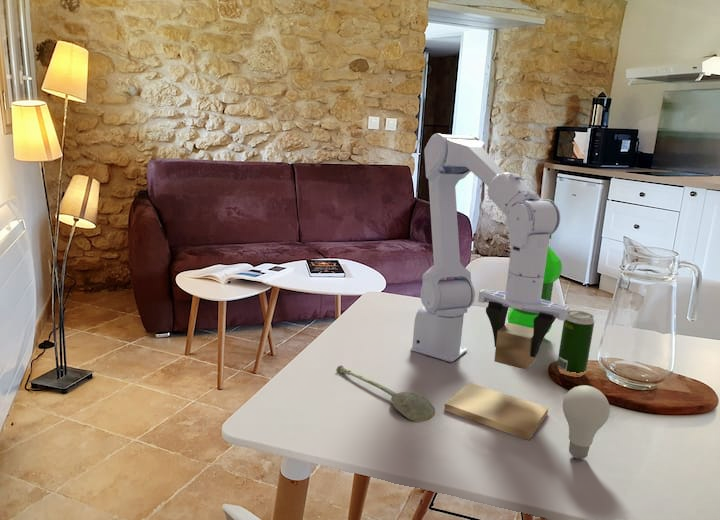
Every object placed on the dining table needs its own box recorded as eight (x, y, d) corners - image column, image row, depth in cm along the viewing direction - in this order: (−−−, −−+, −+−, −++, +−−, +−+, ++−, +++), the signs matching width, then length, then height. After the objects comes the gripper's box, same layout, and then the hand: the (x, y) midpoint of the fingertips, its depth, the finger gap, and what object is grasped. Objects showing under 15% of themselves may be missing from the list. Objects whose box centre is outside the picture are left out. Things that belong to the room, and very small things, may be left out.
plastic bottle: (495, 334, 125) (508, 227, 119) (520, 325, 132) (534, 223, 126) (534, 348, 118) (550, 235, 112) (558, 338, 125) (575, 231, 119)
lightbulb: (598, 451, 80) (611, 383, 77) (601, 475, 74) (615, 402, 72) (554, 442, 82) (565, 374, 79) (554, 464, 76) (566, 392, 74)
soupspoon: (415, 433, 84) (442, 421, 89) (418, 413, 83) (445, 402, 88) (325, 377, 99) (352, 369, 104) (327, 360, 99) (354, 353, 103)
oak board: (444, 410, 89) (445, 403, 89) (468, 388, 97) (469, 382, 97) (528, 440, 82) (529, 433, 82) (547, 414, 90) (548, 407, 90)
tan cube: (494, 361, 92) (497, 330, 91) (504, 351, 97) (508, 322, 96) (526, 370, 90) (530, 338, 88) (535, 359, 94) (539, 329, 93)
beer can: (574, 380, 103) (583, 321, 100) (550, 369, 108) (559, 312, 105) (591, 375, 106) (601, 317, 103) (567, 364, 110) (576, 308, 108)
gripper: (475, 269, 90) (466, 346, 93) (565, 286, 82) (553, 369, 86) (490, 262, 96) (481, 334, 99) (576, 277, 88) (564, 355, 91)
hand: (515, 350), depth 93 cm, fingers closed on tan cube, 5 cm apart
